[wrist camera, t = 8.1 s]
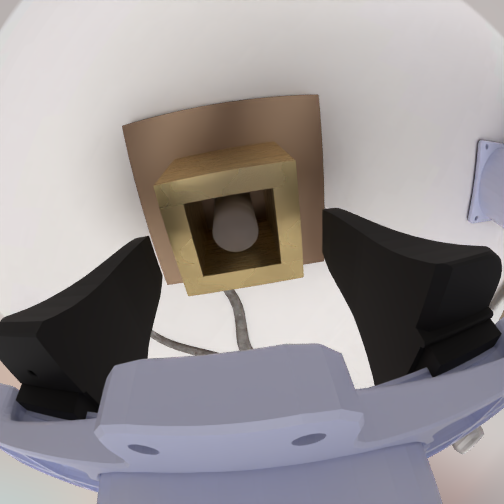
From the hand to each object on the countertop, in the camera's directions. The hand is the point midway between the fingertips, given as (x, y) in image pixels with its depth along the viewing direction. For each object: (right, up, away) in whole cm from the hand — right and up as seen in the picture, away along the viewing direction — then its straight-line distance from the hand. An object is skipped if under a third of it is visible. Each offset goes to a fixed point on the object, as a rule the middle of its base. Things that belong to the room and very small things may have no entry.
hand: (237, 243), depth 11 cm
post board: (-1, +4, +6) cm, 7 cm away
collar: (-1, +3, +5) cm, 6 cm away
